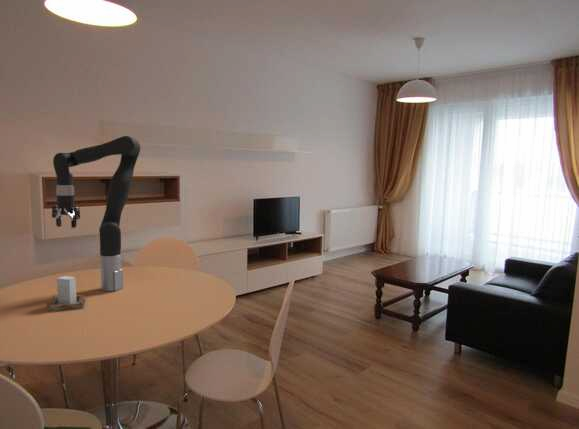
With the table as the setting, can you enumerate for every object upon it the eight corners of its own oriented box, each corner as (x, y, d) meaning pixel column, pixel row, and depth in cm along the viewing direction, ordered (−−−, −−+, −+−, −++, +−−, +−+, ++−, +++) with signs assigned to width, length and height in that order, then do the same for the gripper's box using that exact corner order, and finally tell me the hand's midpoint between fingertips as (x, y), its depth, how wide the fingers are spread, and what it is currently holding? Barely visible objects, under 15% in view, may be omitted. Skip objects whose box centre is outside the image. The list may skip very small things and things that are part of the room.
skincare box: (77, 303, 178) (76, 276, 177) (70, 306, 174) (69, 279, 172) (64, 302, 179) (63, 275, 177) (57, 305, 175) (56, 278, 173)
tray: (85, 299, 185) (85, 294, 185) (83, 308, 173) (83, 303, 173) (52, 302, 180) (52, 297, 179) (48, 312, 168) (48, 306, 168)
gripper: (83, 194, 200) (84, 227, 202) (59, 193, 203) (60, 225, 205) (71, 195, 193) (72, 229, 195) (46, 193, 196) (48, 227, 198)
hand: (66, 227), depth 200 cm, fingers open, 8 cm apart
